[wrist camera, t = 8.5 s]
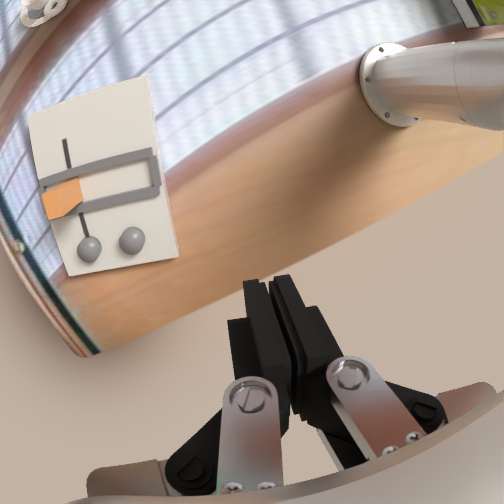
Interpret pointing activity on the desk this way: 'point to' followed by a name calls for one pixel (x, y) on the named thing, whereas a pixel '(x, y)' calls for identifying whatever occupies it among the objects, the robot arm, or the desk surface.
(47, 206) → the block
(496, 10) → the tea box
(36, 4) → the white ring with post
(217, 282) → the desk surface
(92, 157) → the console
